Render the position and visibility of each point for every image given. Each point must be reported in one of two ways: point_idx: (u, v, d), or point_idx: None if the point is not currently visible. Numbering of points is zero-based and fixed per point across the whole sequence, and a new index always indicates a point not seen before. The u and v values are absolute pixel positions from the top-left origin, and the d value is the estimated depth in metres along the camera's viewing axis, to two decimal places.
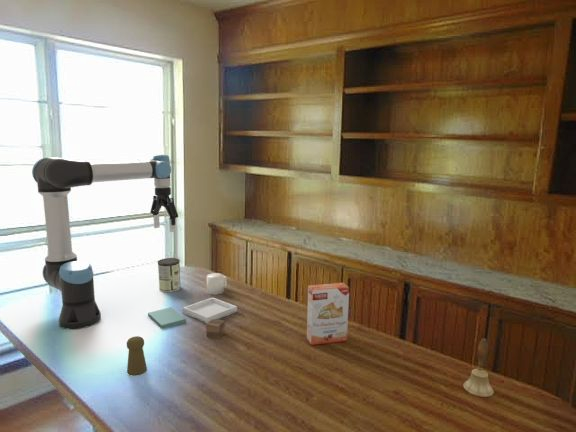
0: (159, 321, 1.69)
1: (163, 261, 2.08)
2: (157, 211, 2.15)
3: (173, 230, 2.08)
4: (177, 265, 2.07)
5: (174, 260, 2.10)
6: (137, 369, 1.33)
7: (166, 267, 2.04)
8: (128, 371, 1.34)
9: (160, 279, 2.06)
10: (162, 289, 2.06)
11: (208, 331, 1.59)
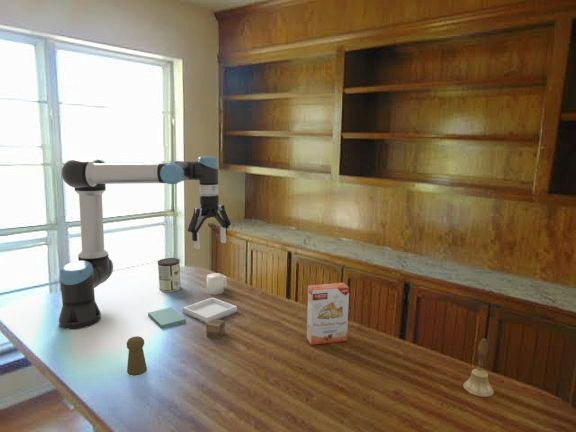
0: (159, 321, 1.69)
1: (163, 261, 2.08)
2: (221, 223, 1.81)
3: (196, 247, 1.73)
4: (177, 265, 2.07)
5: (174, 260, 2.10)
6: (137, 369, 1.33)
7: (166, 267, 2.04)
8: (128, 371, 1.34)
9: (160, 279, 2.06)
10: (162, 289, 2.06)
11: (208, 331, 1.59)
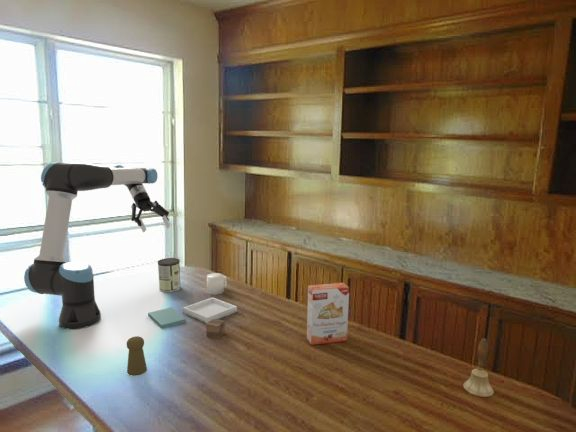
0: (159, 321, 1.69)
1: (163, 261, 2.08)
2: (160, 213, 2.23)
3: (143, 229, 2.10)
4: (177, 265, 2.07)
5: (174, 260, 2.10)
6: (137, 369, 1.33)
7: (166, 267, 2.04)
8: (128, 371, 1.34)
9: (160, 279, 2.06)
10: (162, 289, 2.06)
11: (208, 331, 1.59)
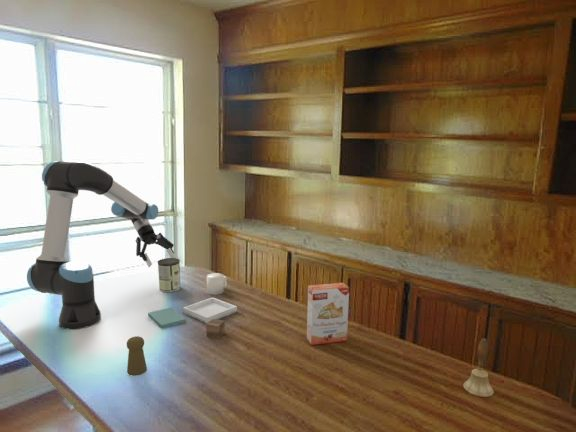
0: (159, 321, 1.69)
1: (163, 261, 2.08)
2: (165, 246, 2.19)
3: (149, 264, 2.07)
4: (177, 265, 2.07)
5: (174, 260, 2.10)
6: (137, 369, 1.33)
7: (166, 267, 2.04)
8: (128, 371, 1.34)
9: (160, 279, 2.06)
10: (162, 289, 2.06)
11: (208, 331, 1.59)
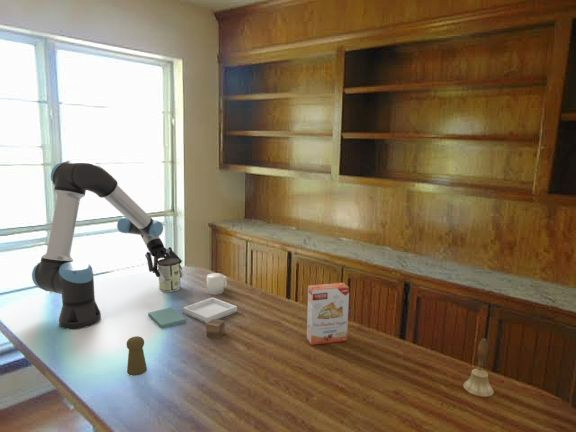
0: (159, 321, 1.69)
1: (163, 261, 2.08)
2: None
3: (162, 280, 2.04)
4: (177, 265, 2.07)
5: (174, 260, 2.10)
6: (137, 369, 1.33)
7: (166, 267, 2.04)
8: (128, 371, 1.34)
9: None
10: (162, 289, 2.06)
11: (208, 331, 1.59)
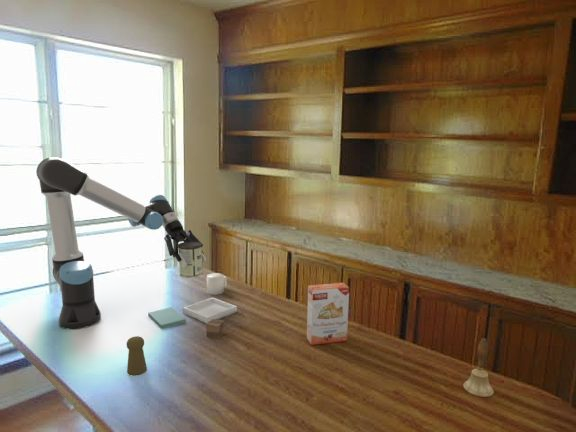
0: (159, 321, 1.69)
1: (184, 244, 1.90)
2: None
3: (184, 264, 1.85)
4: (200, 249, 1.89)
5: (196, 243, 1.92)
6: (137, 369, 1.33)
7: (188, 251, 1.86)
8: (128, 371, 1.34)
9: None
10: (183, 275, 1.88)
11: (208, 331, 1.59)
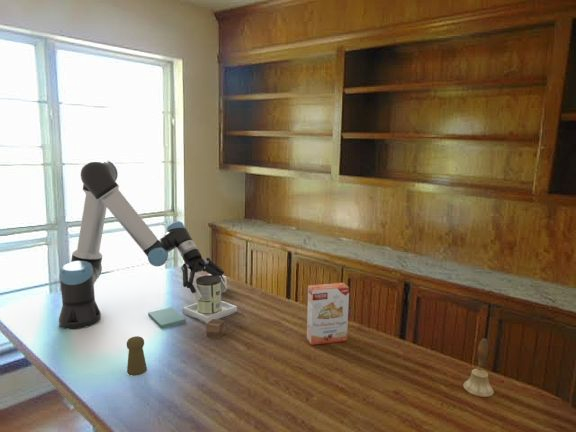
0: (159, 321, 1.69)
1: (202, 279, 1.79)
2: (214, 274, 1.86)
3: (199, 296, 1.74)
4: (219, 284, 1.78)
5: (215, 278, 1.81)
6: (137, 369, 1.33)
7: (206, 287, 1.75)
8: (128, 371, 1.34)
9: (199, 300, 1.77)
10: (201, 312, 1.77)
11: (208, 331, 1.59)
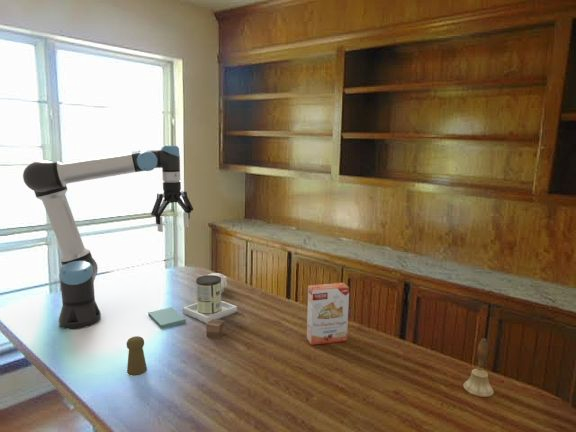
0: (159, 321, 1.69)
1: (202, 279, 1.79)
2: (184, 208, 1.94)
3: (160, 230, 1.86)
4: (219, 284, 1.78)
5: (215, 278, 1.80)
6: (137, 369, 1.33)
7: (206, 287, 1.75)
8: (128, 371, 1.34)
9: (199, 300, 1.77)
10: (201, 312, 1.77)
11: (208, 331, 1.59)
